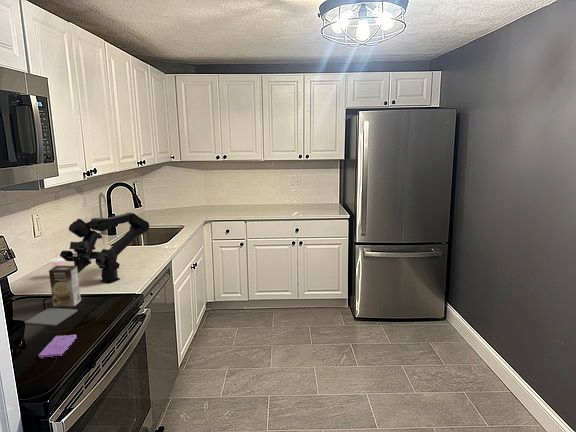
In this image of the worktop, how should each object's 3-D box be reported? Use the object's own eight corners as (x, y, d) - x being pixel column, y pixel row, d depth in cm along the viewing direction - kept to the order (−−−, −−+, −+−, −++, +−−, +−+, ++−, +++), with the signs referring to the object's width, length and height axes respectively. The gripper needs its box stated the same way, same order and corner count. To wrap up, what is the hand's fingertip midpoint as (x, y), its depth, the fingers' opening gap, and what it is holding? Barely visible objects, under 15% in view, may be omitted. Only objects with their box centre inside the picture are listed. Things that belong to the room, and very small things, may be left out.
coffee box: (52, 307, 172) (47, 270, 169) (60, 300, 178) (55, 265, 175) (74, 306, 172) (70, 270, 169) (81, 300, 179) (77, 264, 175)
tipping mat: (48, 309, 170) (48, 307, 170) (77, 310, 168) (77, 309, 168) (24, 323, 158) (24, 322, 158) (55, 325, 156) (55, 324, 156)
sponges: (77, 339, 147) (76, 334, 146) (61, 358, 134) (60, 353, 134) (56, 340, 146) (55, 335, 146) (38, 359, 134) (38, 354, 133)
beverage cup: (56, 274, 211) (52, 248, 208) (68, 274, 211) (65, 247, 208) (50, 278, 205) (46, 251, 202) (63, 278, 205) (59, 251, 203)
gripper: (59, 233, 183) (45, 264, 175) (98, 234, 180) (85, 266, 172) (73, 245, 193) (60, 276, 184) (110, 246, 190) (98, 277, 181)
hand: (75, 273), depth 180 cm, fingers closed
